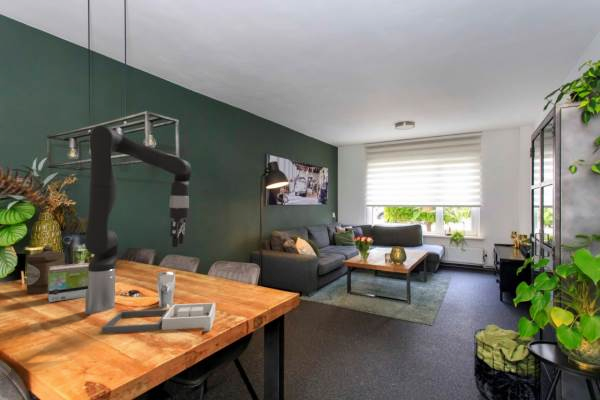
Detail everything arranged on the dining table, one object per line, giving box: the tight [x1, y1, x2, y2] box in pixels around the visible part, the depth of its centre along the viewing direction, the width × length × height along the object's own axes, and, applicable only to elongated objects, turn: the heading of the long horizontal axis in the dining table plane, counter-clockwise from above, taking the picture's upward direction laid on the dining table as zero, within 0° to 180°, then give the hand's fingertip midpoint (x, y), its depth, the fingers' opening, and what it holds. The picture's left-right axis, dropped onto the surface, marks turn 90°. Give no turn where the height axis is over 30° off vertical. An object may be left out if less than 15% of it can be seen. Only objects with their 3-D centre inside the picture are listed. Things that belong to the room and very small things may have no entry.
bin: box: [161, 302, 216, 332], centre depth 110 cm, size 16×15×5 cm
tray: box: [101, 308, 170, 334], centre depth 107 cm, size 18×15×3 cm
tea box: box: [47, 262, 89, 303], centre depth 139 cm, size 15×10×15 cm
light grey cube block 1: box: [177, 307, 191, 318], centre depth 109 cm, size 4×4×4 cm
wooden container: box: [26, 245, 66, 295], centre depth 150 cm, size 15×15×22 cm
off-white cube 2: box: [190, 307, 204, 317], centre depth 110 cm, size 4×4×4 cm
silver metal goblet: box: [156, 270, 176, 309], centre depth 125 cm, size 7×7×15 cm
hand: (177, 245), depth 124 cm, fingers open, 8 cm apart
